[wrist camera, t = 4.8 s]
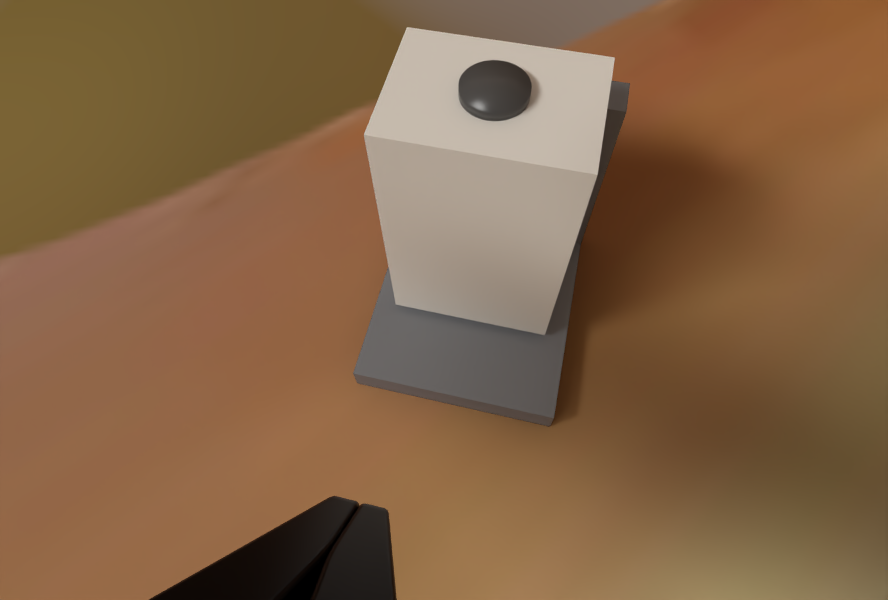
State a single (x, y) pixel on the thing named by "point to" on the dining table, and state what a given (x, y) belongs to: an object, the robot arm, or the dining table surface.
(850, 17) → the dining table surface
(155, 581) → the dining table surface
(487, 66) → the plunger
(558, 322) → the housing
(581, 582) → the dining table surface
